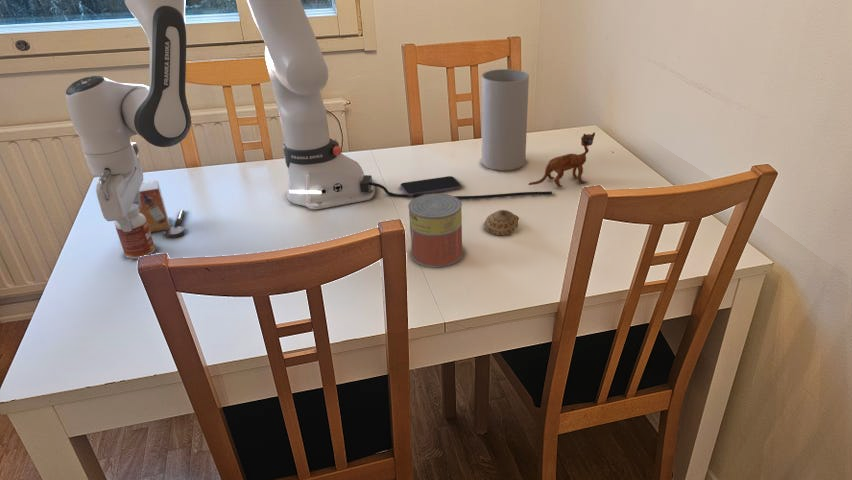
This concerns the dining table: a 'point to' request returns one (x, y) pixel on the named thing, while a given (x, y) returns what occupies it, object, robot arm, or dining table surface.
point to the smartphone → (430, 185)
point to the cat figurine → (568, 163)
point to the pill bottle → (136, 235)
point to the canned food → (436, 229)
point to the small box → (153, 206)
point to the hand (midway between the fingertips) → (133, 219)
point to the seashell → (501, 223)
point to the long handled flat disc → (176, 227)
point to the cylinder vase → (504, 118)
